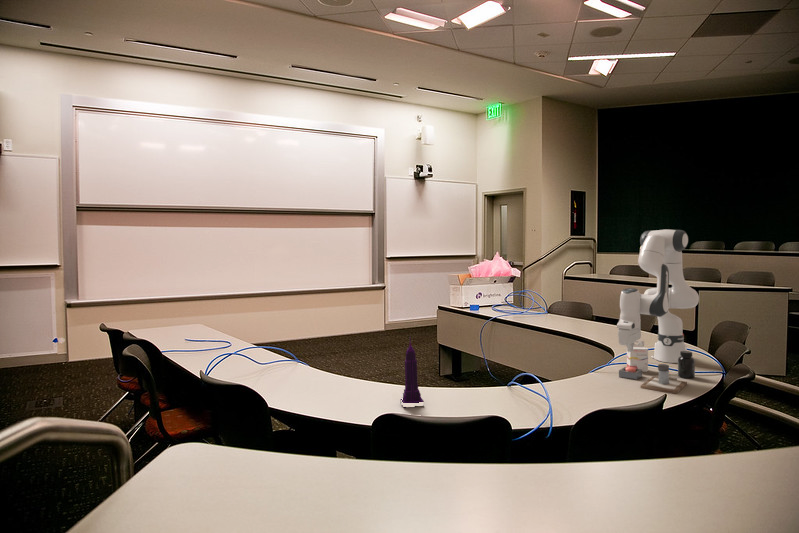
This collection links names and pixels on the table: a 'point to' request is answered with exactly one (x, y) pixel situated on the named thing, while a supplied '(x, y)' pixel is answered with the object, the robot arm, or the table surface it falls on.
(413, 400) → the building model
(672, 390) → the picture frame
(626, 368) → the button
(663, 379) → the grey lidded jar
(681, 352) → the supplement bottle
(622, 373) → the button housing
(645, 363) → the ink cartridge box
